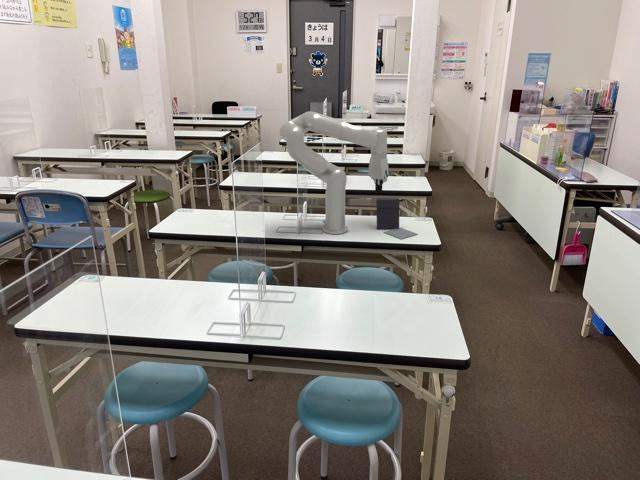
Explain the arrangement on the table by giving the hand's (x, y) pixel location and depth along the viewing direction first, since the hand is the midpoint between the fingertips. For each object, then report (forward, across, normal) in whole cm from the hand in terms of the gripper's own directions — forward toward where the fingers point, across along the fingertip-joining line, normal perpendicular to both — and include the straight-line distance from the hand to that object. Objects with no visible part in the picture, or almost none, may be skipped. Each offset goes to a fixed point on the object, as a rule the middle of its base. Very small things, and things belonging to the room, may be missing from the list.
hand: (378, 191), depth 237 cm
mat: (+17, +17, -1) cm, 24 cm away
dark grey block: (+17, +8, -1) cm, 19 cm away
